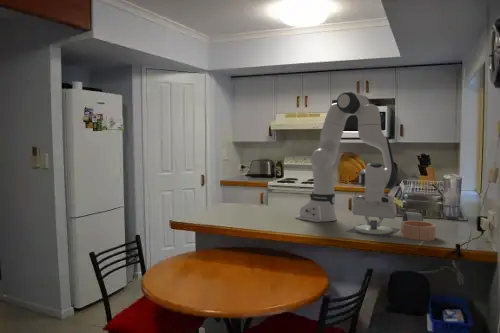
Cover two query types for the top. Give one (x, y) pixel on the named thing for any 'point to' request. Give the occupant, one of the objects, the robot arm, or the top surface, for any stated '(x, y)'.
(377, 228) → the lid
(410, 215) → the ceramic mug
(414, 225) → the bowl
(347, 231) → the mat
